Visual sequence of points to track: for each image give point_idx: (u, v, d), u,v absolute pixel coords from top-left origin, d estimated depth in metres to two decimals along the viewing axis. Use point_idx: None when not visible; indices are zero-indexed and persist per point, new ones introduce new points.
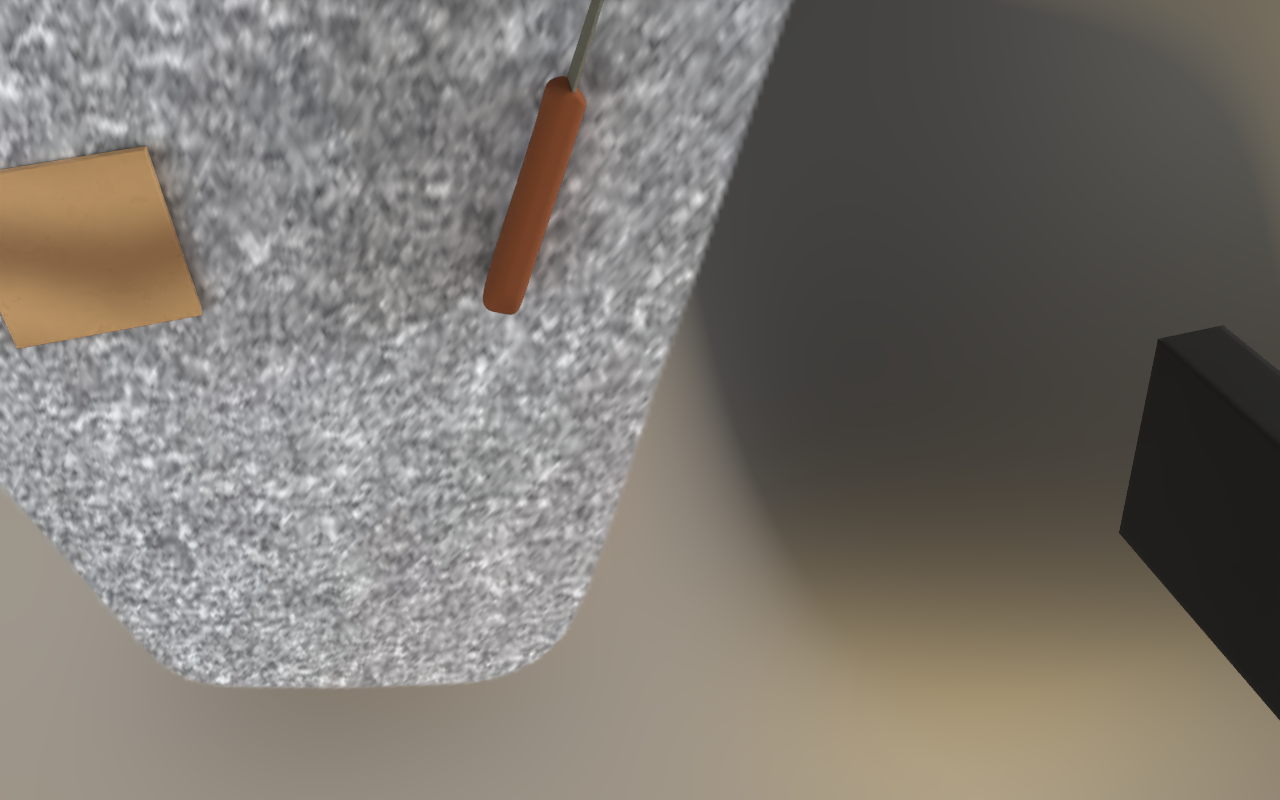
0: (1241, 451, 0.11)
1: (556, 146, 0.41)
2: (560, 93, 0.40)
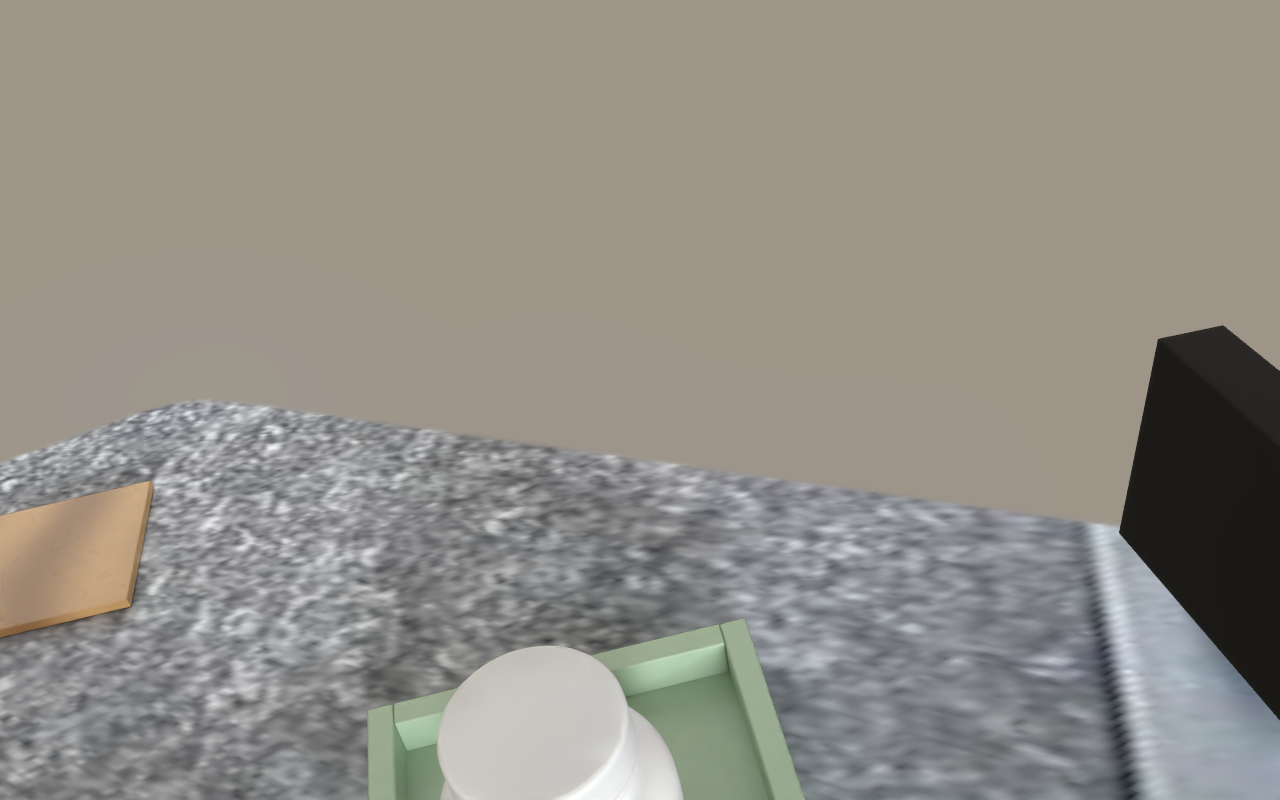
0: (1241, 451, 0.11)
1: None
2: None
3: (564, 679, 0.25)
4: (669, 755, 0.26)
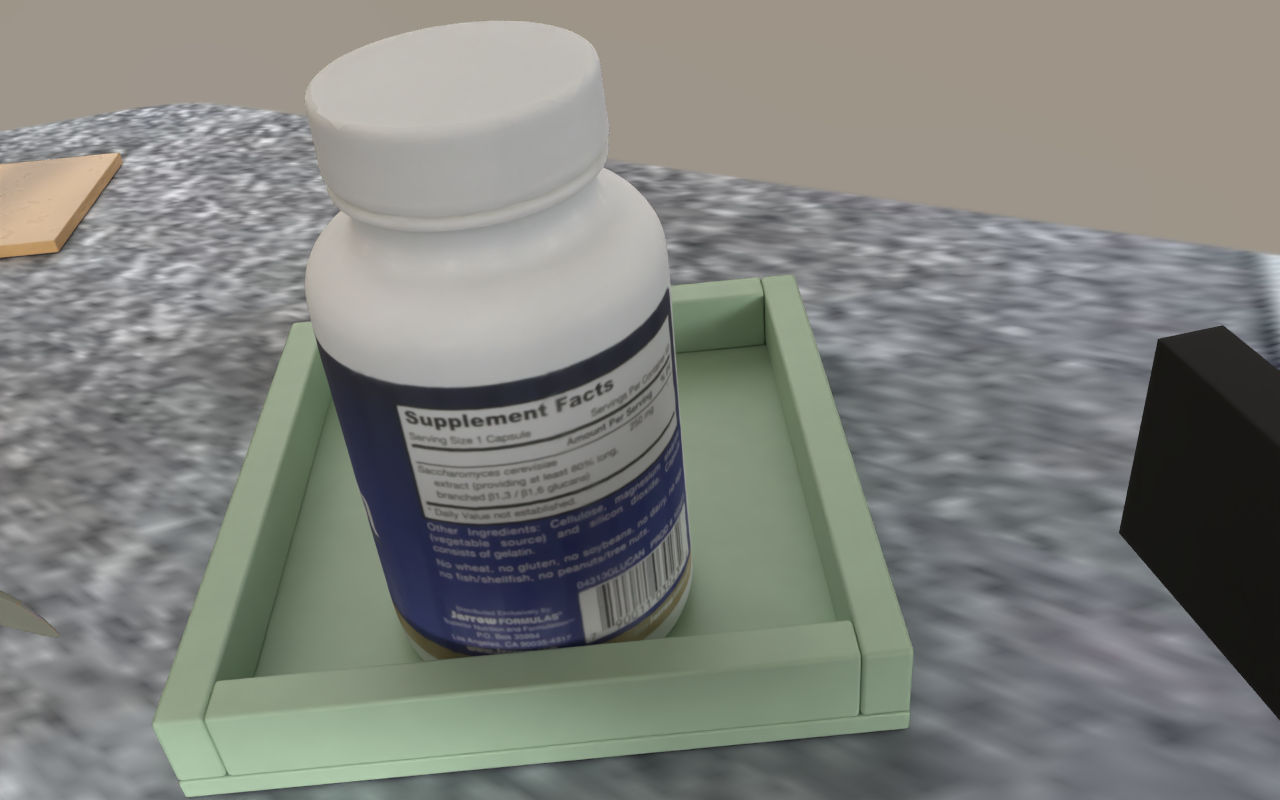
0: (1241, 451, 0.11)
1: None
2: None
3: (514, 41, 0.17)
4: (657, 218, 0.18)
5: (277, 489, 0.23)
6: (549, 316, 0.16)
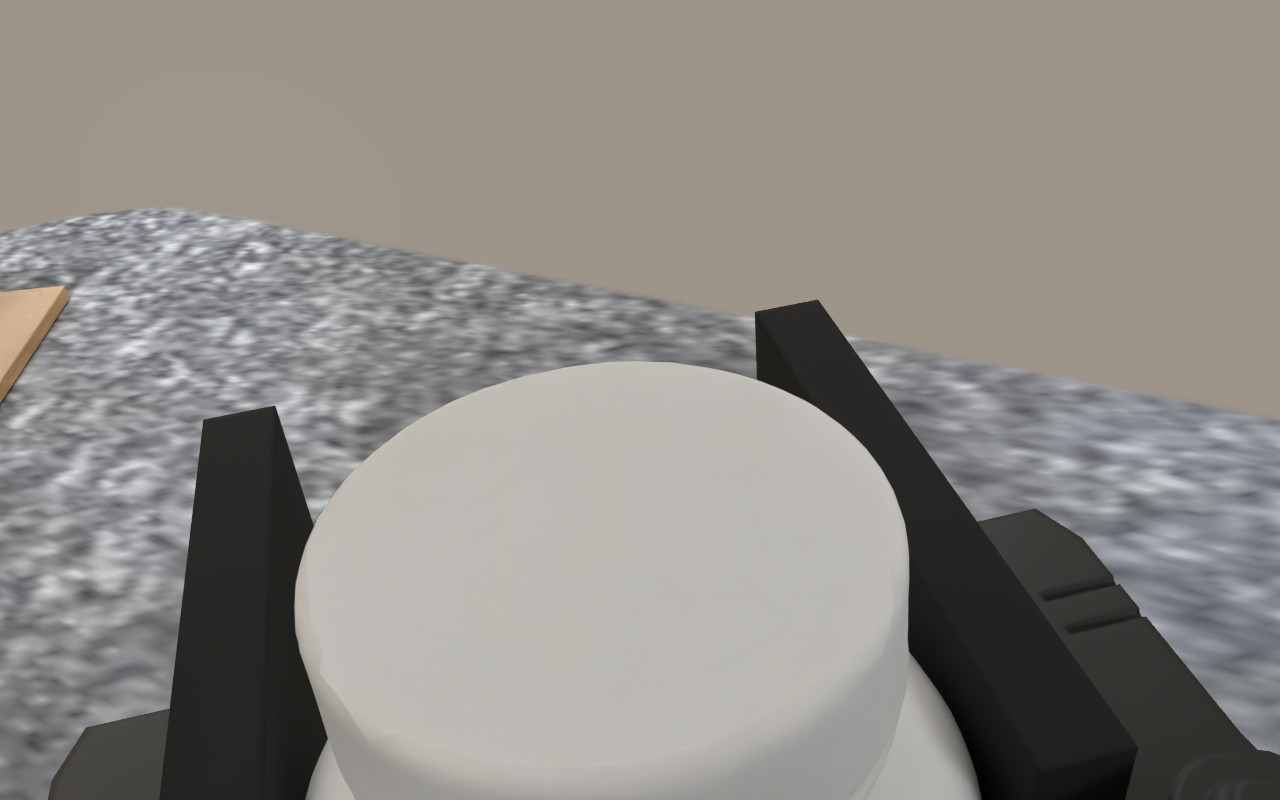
0: None
1: None
2: None
3: (709, 436, 0.08)
4: (956, 725, 0.09)
5: None
6: None
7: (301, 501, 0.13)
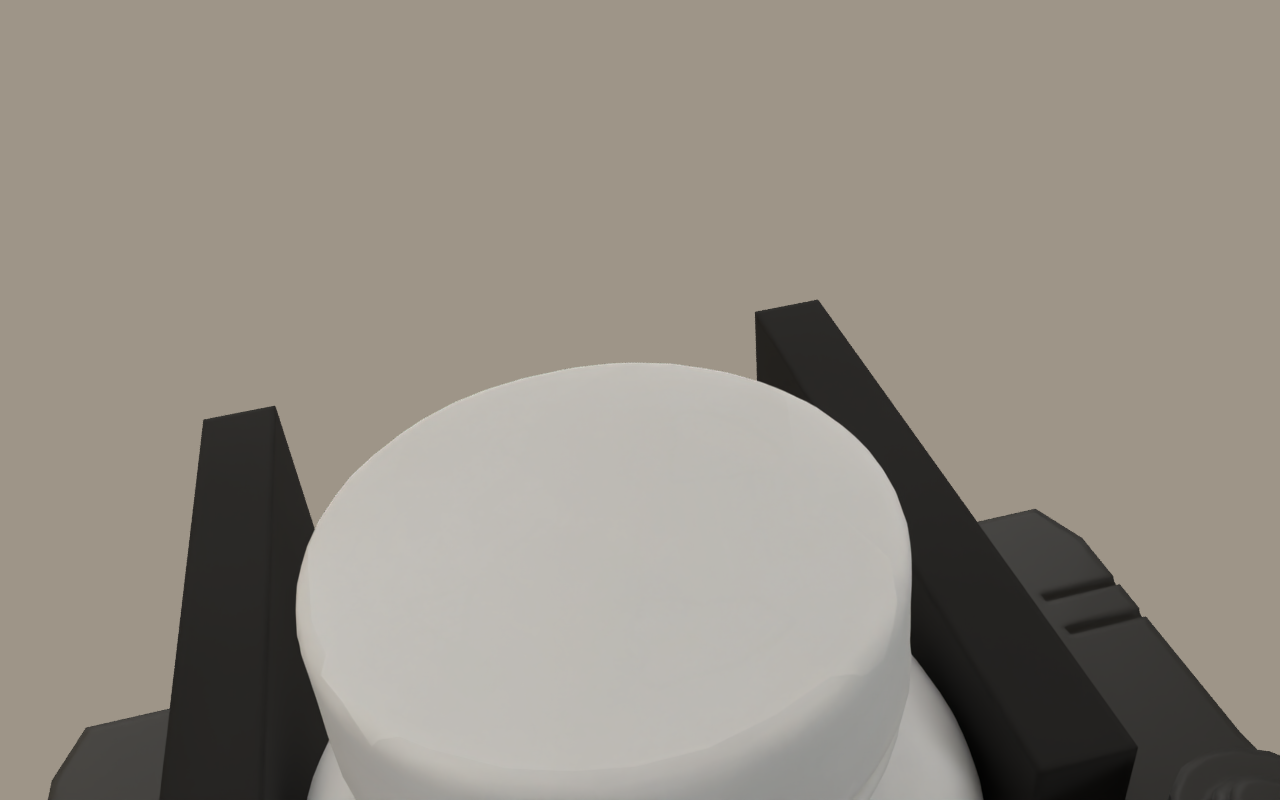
0: None
1: None
2: None
3: (711, 437, 0.08)
4: (958, 727, 0.09)
5: None
6: None
7: (301, 501, 0.13)
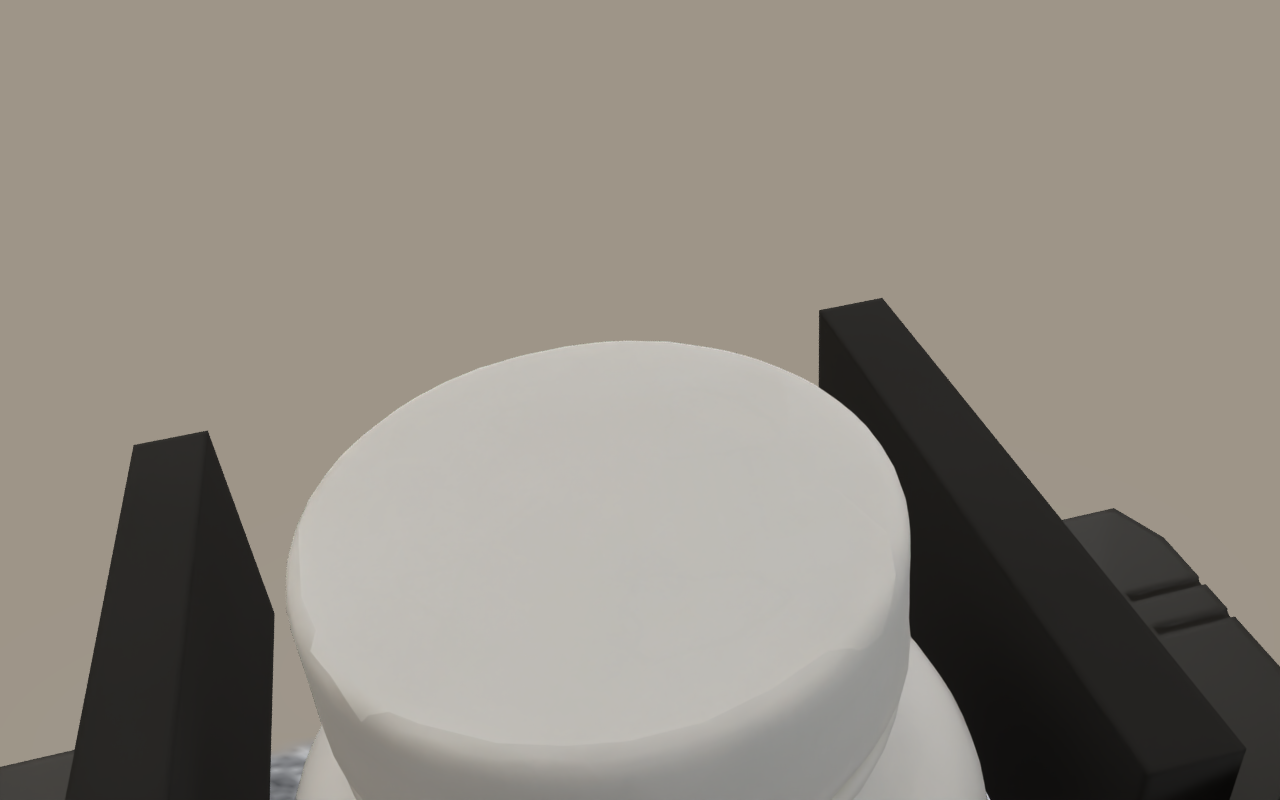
0: (869, 411, 0.12)
1: None
2: None
3: (707, 414, 0.08)
4: (958, 709, 0.09)
5: None
6: None
7: (236, 527, 0.13)
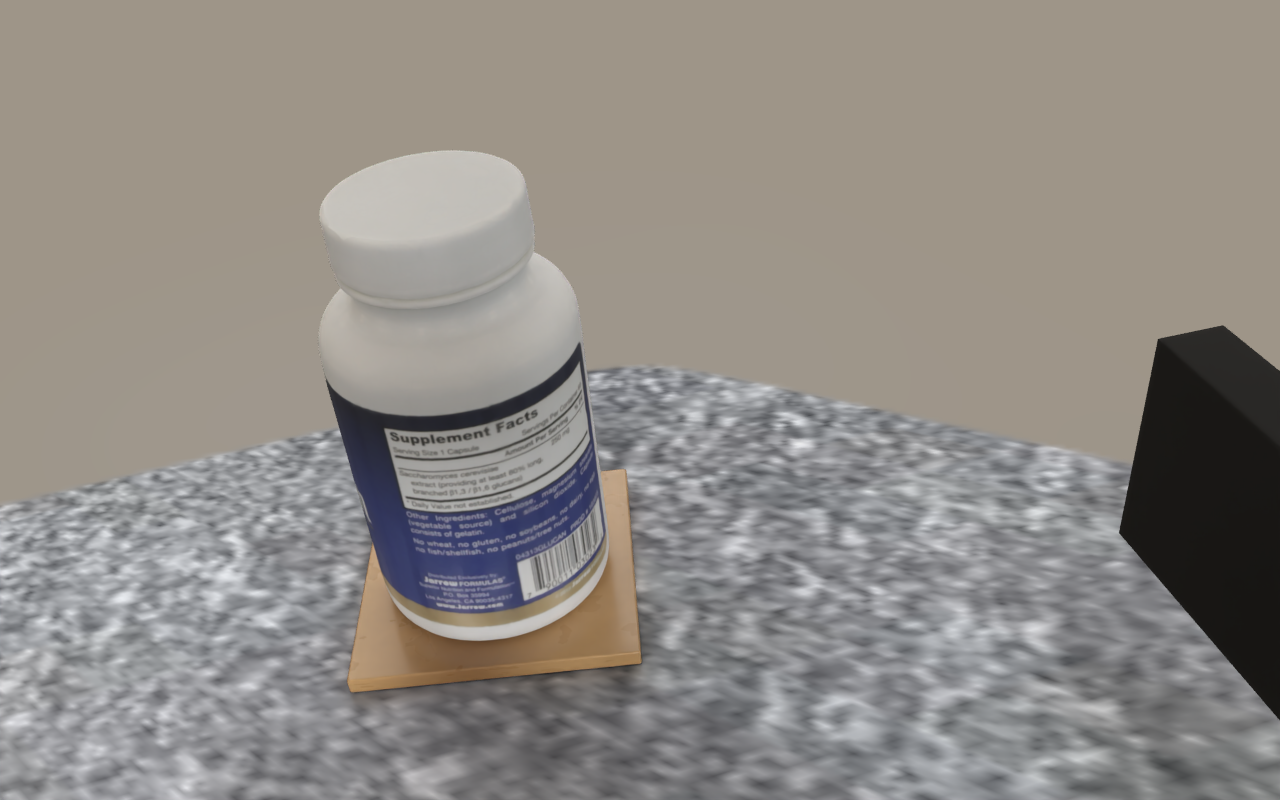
0: (1241, 451, 0.11)
1: None
2: None
3: (467, 169, 0.23)
4: (572, 292, 0.25)
5: None
6: (489, 366, 0.22)
7: None
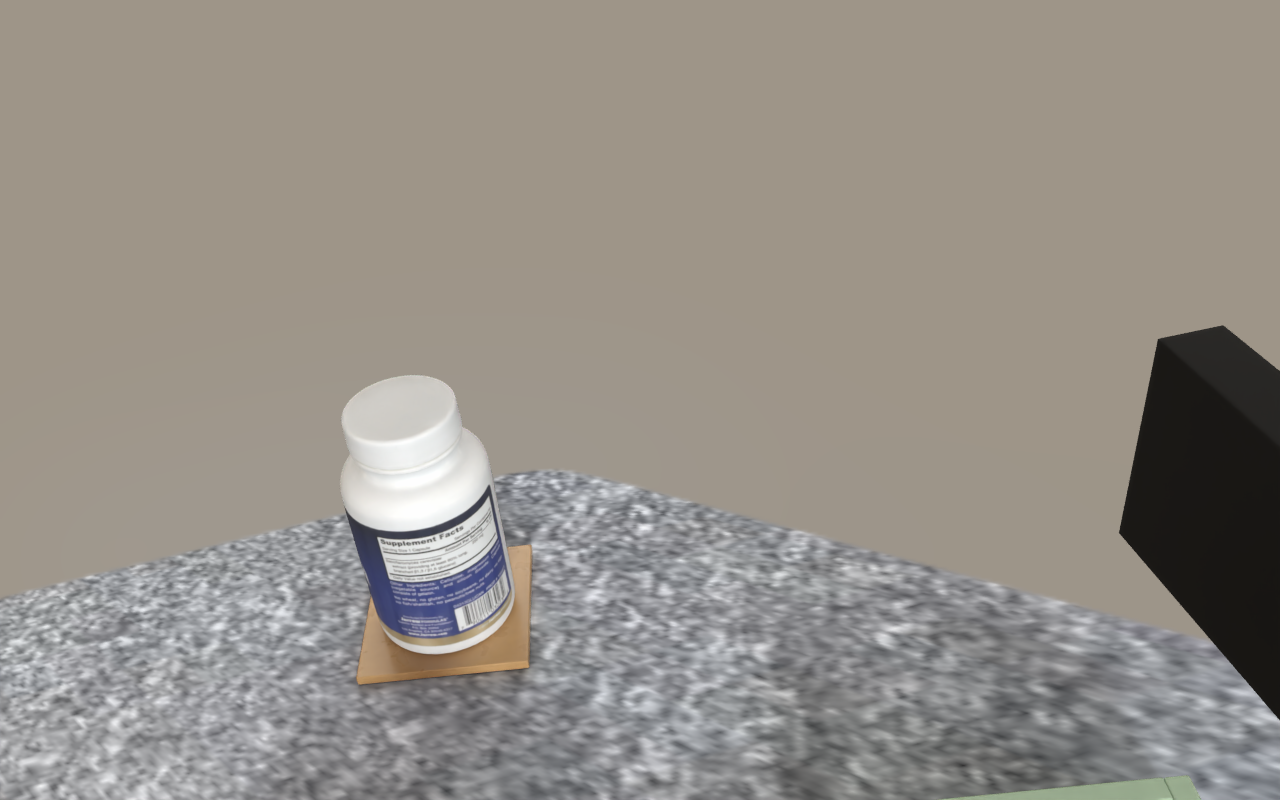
0: (1241, 451, 0.11)
1: None
2: None
3: (424, 390, 0.42)
4: (485, 455, 0.43)
5: None
6: (435, 504, 0.41)
7: None
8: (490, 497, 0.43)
